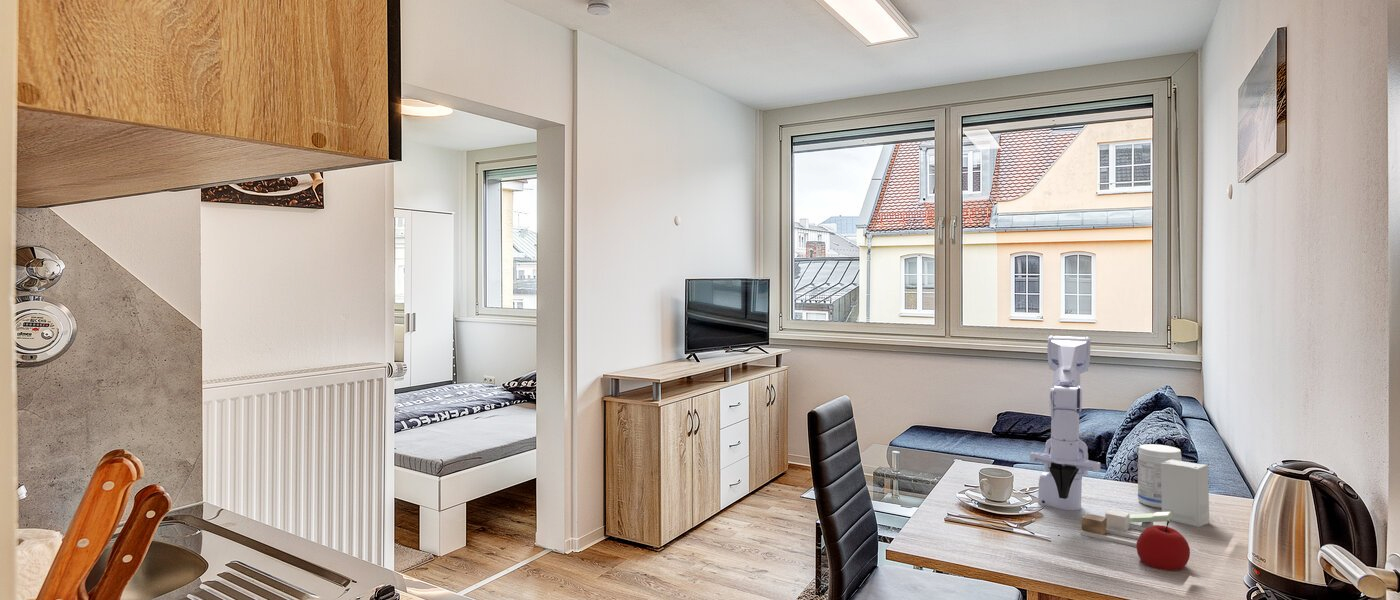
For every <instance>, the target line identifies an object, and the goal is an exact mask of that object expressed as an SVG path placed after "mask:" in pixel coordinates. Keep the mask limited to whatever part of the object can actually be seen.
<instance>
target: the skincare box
mask: <svg viewBox="0 0 1400 600" xmlns="http://www.w3.org/2000/svg"><path fill="white" fill-rule="evenodd" d="M1209 490H1210V489H1209V466H1208V464H1203V463H1196V462H1190V461H1184V460H1181V461H1178V460H1173V459H1171V460H1168V461H1165V462H1162V463H1161V495H1162V508H1161V512H1171V514H1172V518H1171V519H1170V521H1172V522H1178V523H1182V524H1185V525H1189V526H1194V527H1197V528H1199V527H1202V526H1203V527H1204V526H1205V525H1207V524H1210V500H1209V499H1210V495H1209Z"/></svg>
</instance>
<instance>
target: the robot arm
mask: <svg viewBox="0 0 1400 600" xmlns="http://www.w3.org/2000/svg"><path fill="white" fill-rule="evenodd" d="M1046 352H1047V353H1046V354H1047V355H1046V356H1047V364H1048V365H1049V366H1048V367H1049V369H1050V370H1052V371H1053V379H1052V381H1053V382H1052V387H1050V390H1049V409H1050V418H1051V421H1050V422H1051V423H1050V424H1051V426H1050V438H1049V439H1047V440H1046V442H1045V446H1044V452H1036V451H1035V452H1034V451H1032V452H1030V453H1029V461H1030V462H1032V463H1036V462H1038V463H1042V464H1043V469H1044V470H1045V471H1042V472H1041V474H1040V475H1039V479H1038V496H1037V498H1038V499H1037V500H1038V501H1037V503H1038V504H1039V505H1043V506H1048V507H1052V508H1056V509H1060V510H1065V511H1066V510H1067V511H1078V510H1082V483H1083V481H1082V480H1083V477H1086V476H1087V475H1088V473H1089V471H1091V472H1093V473H1099V472H1101V462H1099V461H1094V460H1091V459H1090V460H1089V452H1088V445H1087V444H1086V442H1084V441H1083V440H1082V439H1080V413H1081V411H1082V407H1083V405H1082V402H1083V401H1082V400H1083V391H1082V388H1081V375H1082V374H1084V373H1085V372H1088V371H1089V367H1090V360H1091V338H1090V337H1089V336H1062V335H1054V336H1053V335H1052V334H1051V335H1049V336H1048V337H1047V351H1046ZM1078 410H1079V411H1078Z"/></svg>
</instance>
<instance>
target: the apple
mask: <svg viewBox="0 0 1400 600" xmlns="http://www.w3.org/2000/svg"><path fill="white" fill-rule="evenodd" d="M1169 524H1170V521H1168V520H1167V521H1166V525H1160V524H1158V525H1156V524H1155V525H1154V524H1153V526H1150V527H1148V528H1146V529H1145V530H1144V531H1141V532H1140V533H1141V535H1140V536H1139V538H1138V539H1136V540H1137V541H1136V542H1137V545H1136V551H1137V556H1138V558H1139V559H1140V561H1141V562H1142V563H1143V564H1144V565H1146V566H1148V567H1151V568H1154V569H1156V570H1163V571H1167V572H1168V571H1171V572H1173V571H1174V572H1176V571H1177V572H1178V571H1181V570H1183V569H1184V568H1185V567H1186V565H1187V564H1188V562H1189V560H1190V556H1191V548H1190V545H1189V542H1188V541H1187V540H1186V538H1185V537H1184V535H1182V534H1181V533H1180V532H1179V531H1178V530H1176V529H1174V528H1172V527H1170V526H1169Z"/></svg>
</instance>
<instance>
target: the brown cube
mask: <svg viewBox="0 0 1400 600" xmlns="http://www.w3.org/2000/svg"><path fill="white" fill-rule="evenodd" d="M1106 527H1107V517H1105V516H1101V515H1097V514H1092V513H1088V512H1087V513H1086V514H1084V515H1083V516H1082V517H1081V530H1083V531H1087V532H1092V533H1096V534H1101V535H1106V534H1107V533H1106Z"/></svg>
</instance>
